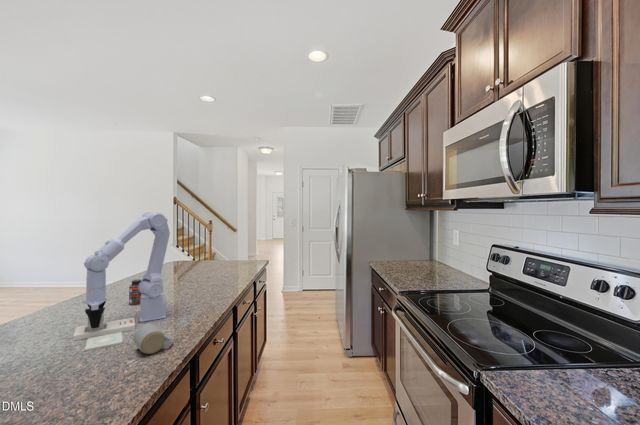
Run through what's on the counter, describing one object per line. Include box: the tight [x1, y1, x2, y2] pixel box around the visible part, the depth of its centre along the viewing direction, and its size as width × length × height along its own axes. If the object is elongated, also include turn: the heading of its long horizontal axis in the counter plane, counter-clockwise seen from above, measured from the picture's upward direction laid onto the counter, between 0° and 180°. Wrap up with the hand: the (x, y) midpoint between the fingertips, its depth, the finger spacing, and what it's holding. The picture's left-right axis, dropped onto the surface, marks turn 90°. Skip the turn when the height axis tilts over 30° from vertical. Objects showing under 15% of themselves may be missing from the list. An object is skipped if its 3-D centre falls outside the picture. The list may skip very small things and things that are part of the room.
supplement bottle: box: [128, 278, 142, 306], centre depth 145 cm, size 6×6×11 cm
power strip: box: [72, 317, 136, 341], centre depth 112 cm, size 18×10×2 cm, turn 124°
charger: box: [87, 310, 105, 332], centre depth 110 cm, size 4×4×7 cm
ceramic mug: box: [133, 323, 174, 355], centre depth 97 cm, size 11×8×8 cm
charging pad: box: [84, 332, 123, 352], centre depth 102 cm, size 10×10×1 cm
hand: (95, 324), depth 110 cm, fingers open, 7 cm apart
